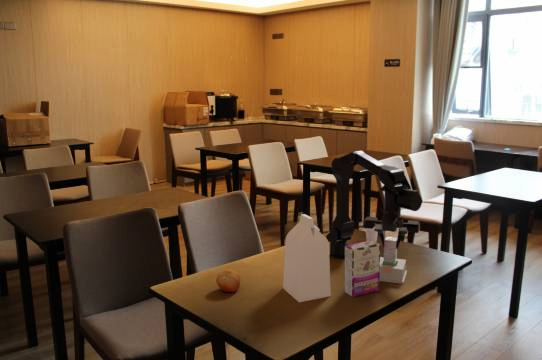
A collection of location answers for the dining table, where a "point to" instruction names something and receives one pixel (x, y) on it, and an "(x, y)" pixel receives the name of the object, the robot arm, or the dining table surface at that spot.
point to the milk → (306, 262)
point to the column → (390, 251)
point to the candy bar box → (362, 268)
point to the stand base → (393, 271)
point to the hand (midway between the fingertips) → (390, 248)
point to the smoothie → (371, 233)
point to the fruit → (228, 280)
